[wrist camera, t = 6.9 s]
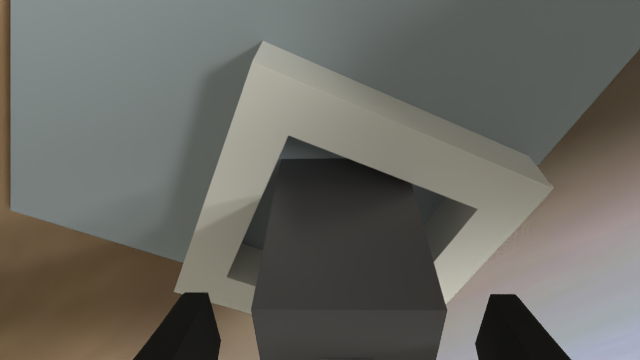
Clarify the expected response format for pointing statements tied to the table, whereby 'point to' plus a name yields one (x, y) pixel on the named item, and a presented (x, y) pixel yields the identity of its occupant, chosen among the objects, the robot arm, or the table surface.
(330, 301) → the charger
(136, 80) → the outlet plate
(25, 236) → the table surface
